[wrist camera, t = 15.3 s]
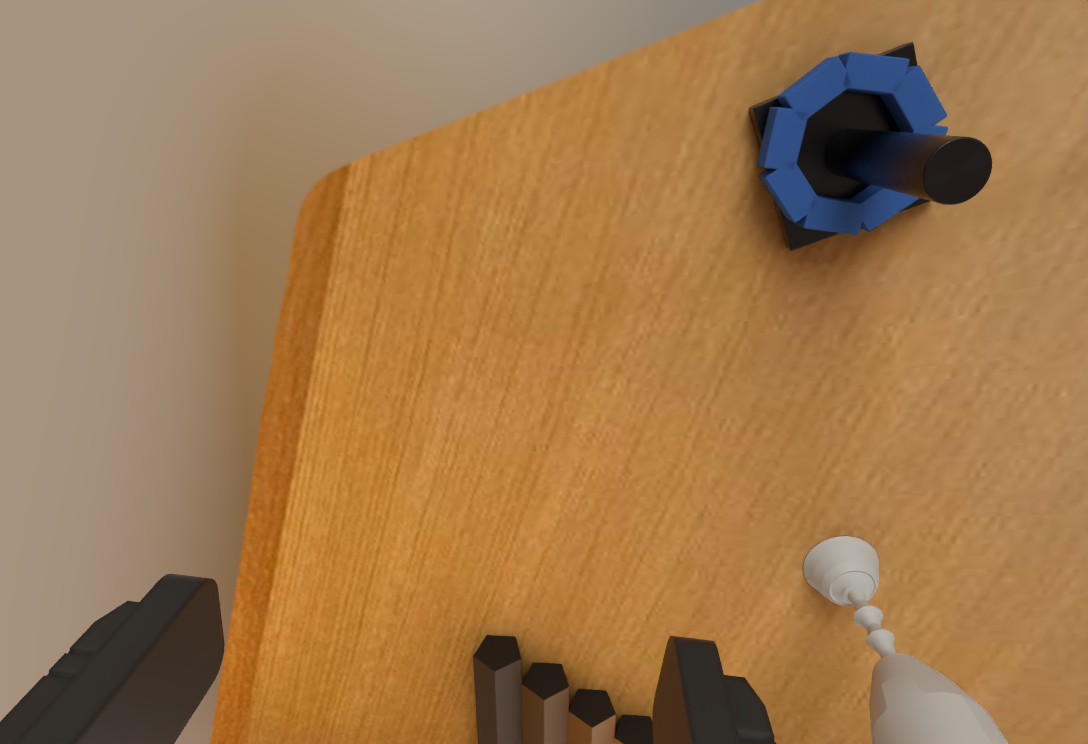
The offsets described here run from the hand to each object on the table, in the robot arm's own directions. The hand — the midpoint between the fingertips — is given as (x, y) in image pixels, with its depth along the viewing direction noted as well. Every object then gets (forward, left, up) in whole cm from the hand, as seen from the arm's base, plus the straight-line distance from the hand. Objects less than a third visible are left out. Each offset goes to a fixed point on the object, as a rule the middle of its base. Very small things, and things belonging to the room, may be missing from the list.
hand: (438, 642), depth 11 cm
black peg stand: (0, +17, -29) cm, 34 cm away
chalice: (+27, +11, -29) cm, 41 cm away
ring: (-1, +17, -28) cm, 33 cm away
